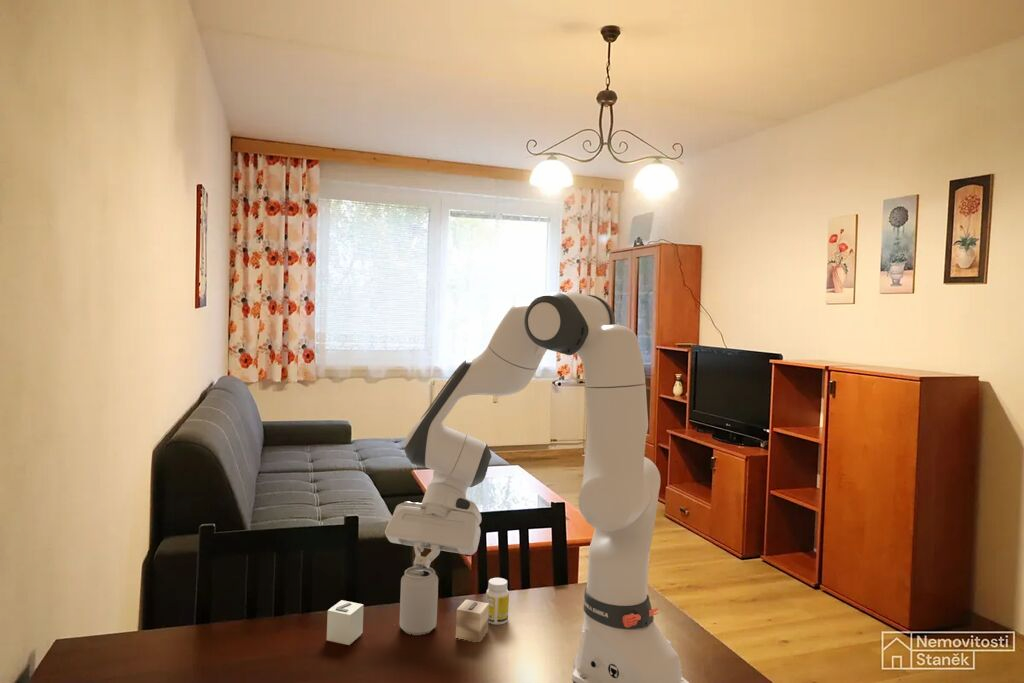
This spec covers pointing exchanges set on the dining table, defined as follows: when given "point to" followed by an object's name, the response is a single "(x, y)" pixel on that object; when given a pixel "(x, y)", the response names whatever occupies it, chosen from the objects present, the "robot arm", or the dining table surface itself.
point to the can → (418, 600)
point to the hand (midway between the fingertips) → (420, 566)
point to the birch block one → (472, 620)
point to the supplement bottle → (497, 601)
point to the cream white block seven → (345, 622)
